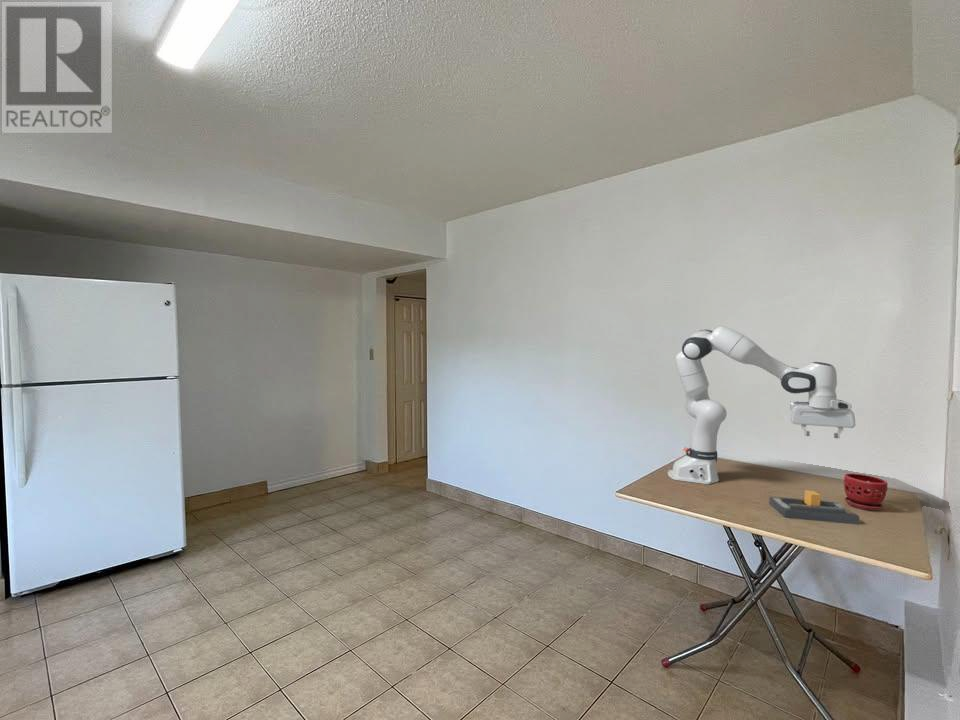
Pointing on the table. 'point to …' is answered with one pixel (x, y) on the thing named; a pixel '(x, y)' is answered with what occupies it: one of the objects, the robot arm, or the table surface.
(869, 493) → the plant pot
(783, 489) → the table surface
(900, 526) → the table surface
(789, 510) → the gray rectangular tray
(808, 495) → the block
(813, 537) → the table surface
